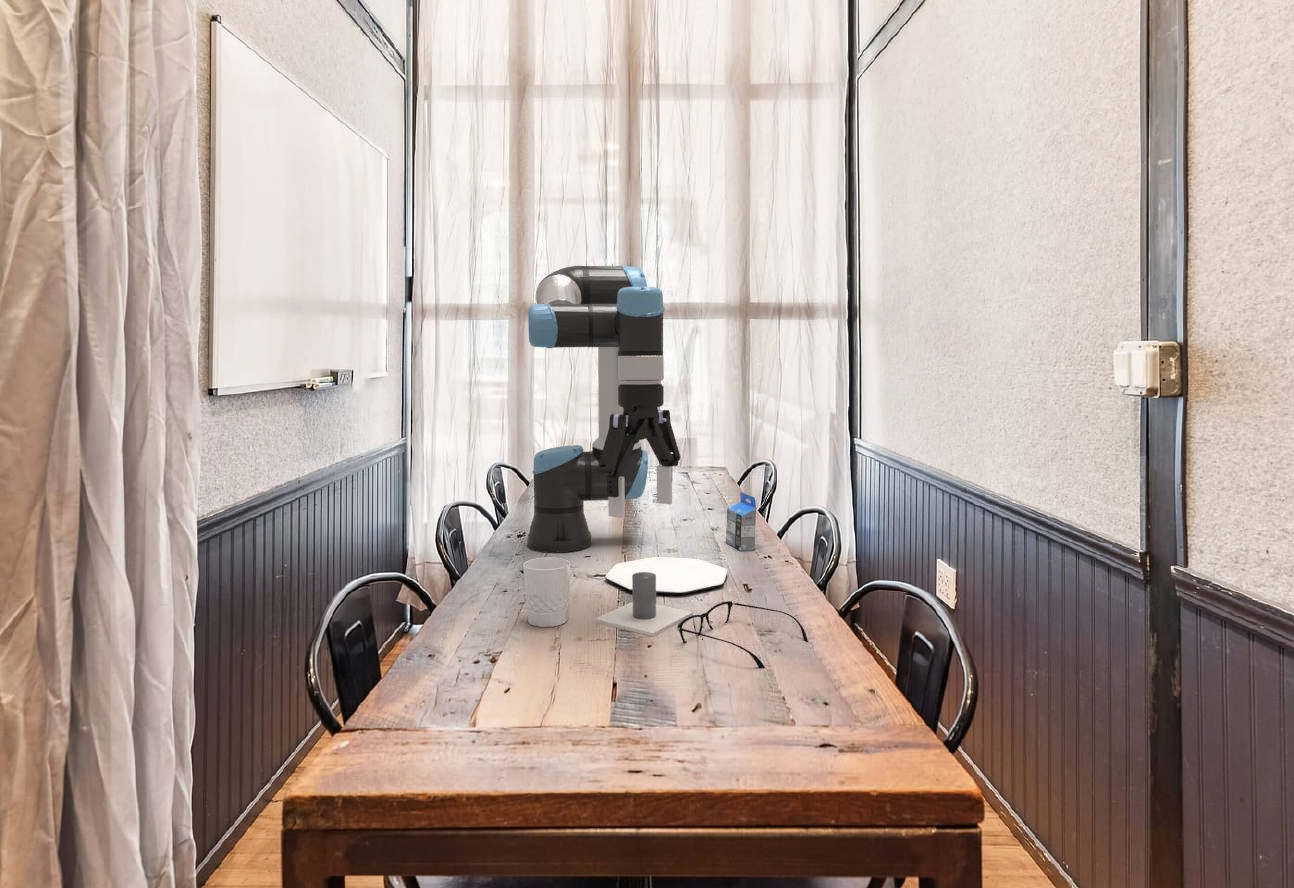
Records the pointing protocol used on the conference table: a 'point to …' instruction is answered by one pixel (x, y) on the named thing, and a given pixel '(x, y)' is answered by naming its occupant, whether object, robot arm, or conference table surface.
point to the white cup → (547, 590)
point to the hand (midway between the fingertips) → (641, 509)
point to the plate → (670, 574)
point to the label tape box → (742, 524)
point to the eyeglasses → (727, 622)
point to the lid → (644, 610)
